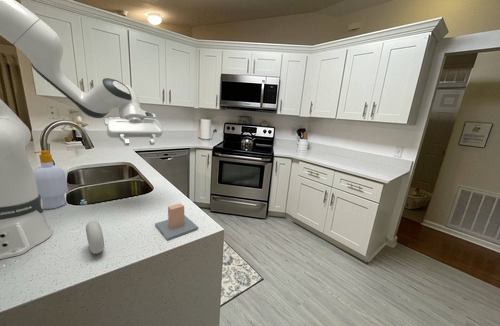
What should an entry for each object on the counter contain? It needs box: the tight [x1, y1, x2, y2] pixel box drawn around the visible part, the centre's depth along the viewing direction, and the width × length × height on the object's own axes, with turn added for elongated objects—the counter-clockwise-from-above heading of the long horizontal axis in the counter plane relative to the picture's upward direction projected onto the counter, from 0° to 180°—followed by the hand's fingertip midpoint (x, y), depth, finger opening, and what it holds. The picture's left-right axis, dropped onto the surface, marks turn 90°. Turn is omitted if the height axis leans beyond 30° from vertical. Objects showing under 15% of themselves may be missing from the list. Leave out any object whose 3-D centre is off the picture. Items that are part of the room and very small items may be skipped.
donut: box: [85, 220, 105, 255], centre depth 64 cm, size 10×4×10 cm, turn 45°
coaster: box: [154, 214, 199, 242], centre depth 80 cm, size 12×12×1 cm
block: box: [167, 202, 185, 229], centre depth 79 cm, size 5×3×8 cm, turn 133°
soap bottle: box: [33, 150, 69, 210], centre depth 87 cm, size 10×10×24 cm
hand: (140, 144), depth 83 cm, fingers open, 8 cm apart
